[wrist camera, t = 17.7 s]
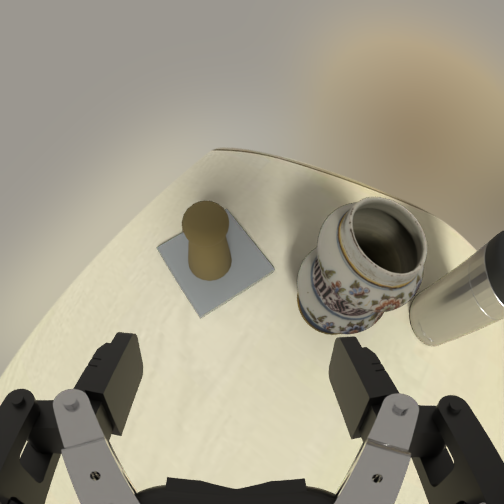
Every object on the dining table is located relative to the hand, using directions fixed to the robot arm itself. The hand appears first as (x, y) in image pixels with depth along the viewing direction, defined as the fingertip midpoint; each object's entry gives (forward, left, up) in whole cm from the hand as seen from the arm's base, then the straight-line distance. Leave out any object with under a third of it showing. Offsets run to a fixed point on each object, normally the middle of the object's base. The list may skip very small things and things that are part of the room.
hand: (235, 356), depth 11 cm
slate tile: (-7, -15, -26) cm, 31 cm away
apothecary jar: (-17, -1, -26) cm, 31 cm away
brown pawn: (-7, -15, -25) cm, 30 cm away
